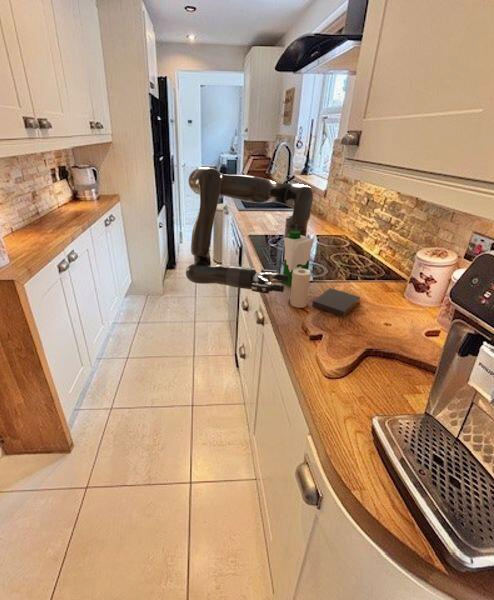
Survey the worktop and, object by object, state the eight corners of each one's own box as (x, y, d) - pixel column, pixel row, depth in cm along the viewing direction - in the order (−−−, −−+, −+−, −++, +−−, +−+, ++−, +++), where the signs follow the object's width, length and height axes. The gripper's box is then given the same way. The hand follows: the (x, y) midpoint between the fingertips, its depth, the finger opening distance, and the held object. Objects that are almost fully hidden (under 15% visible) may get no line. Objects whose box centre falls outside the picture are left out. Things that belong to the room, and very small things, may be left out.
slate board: (329, 292, 119) (330, 287, 118) (359, 302, 113) (360, 296, 112) (312, 306, 111) (312, 300, 110) (343, 317, 104) (344, 311, 103)
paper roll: (295, 298, 116) (298, 266, 110) (310, 303, 112) (314, 271, 107) (286, 304, 112) (289, 272, 106) (301, 309, 109) (305, 276, 103)
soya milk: (293, 276, 132) (298, 228, 123) (311, 284, 126) (317, 233, 116) (278, 282, 128) (281, 232, 118) (295, 290, 121) (300, 238, 112)
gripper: (234, 275, 108) (283, 282, 103) (246, 260, 119) (290, 265, 114) (234, 295, 111) (281, 302, 106) (246, 279, 123) (289, 284, 118)
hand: (286, 283), depth 110 cm, fingers open, 8 cm apart
